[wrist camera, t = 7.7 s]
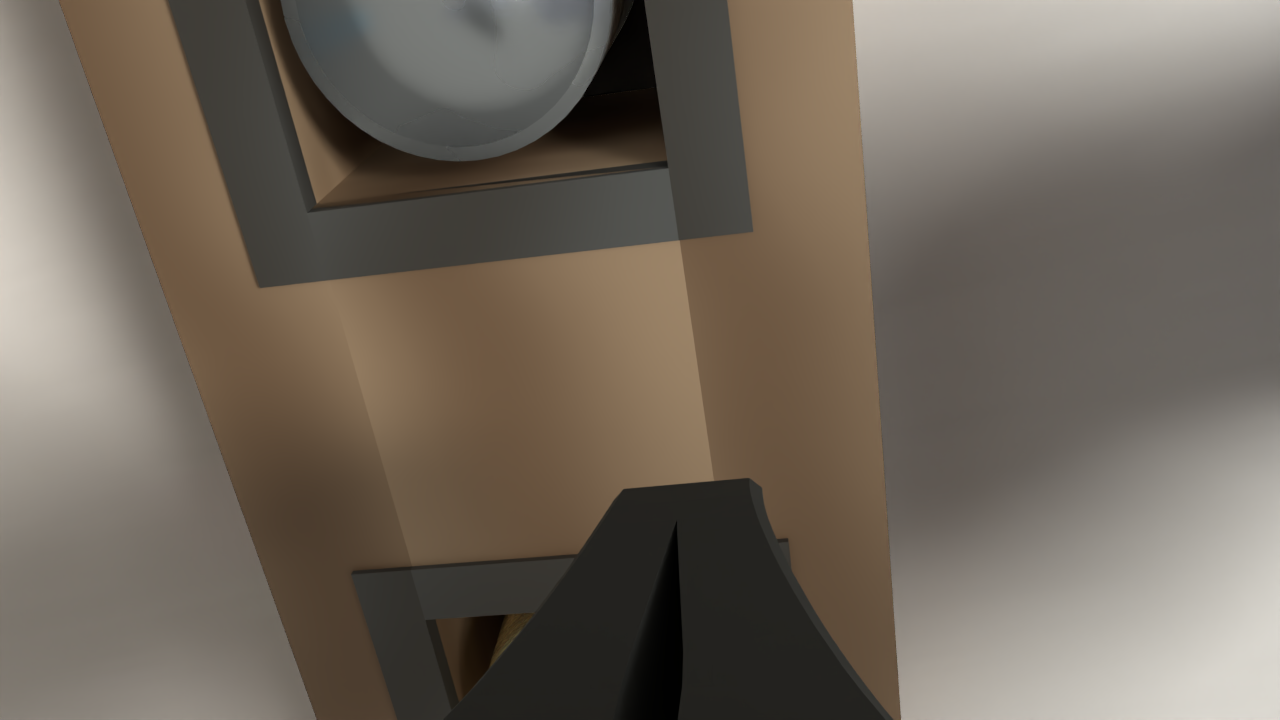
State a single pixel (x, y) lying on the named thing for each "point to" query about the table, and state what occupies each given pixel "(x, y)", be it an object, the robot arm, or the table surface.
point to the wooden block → (510, 325)
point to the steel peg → (454, 67)
